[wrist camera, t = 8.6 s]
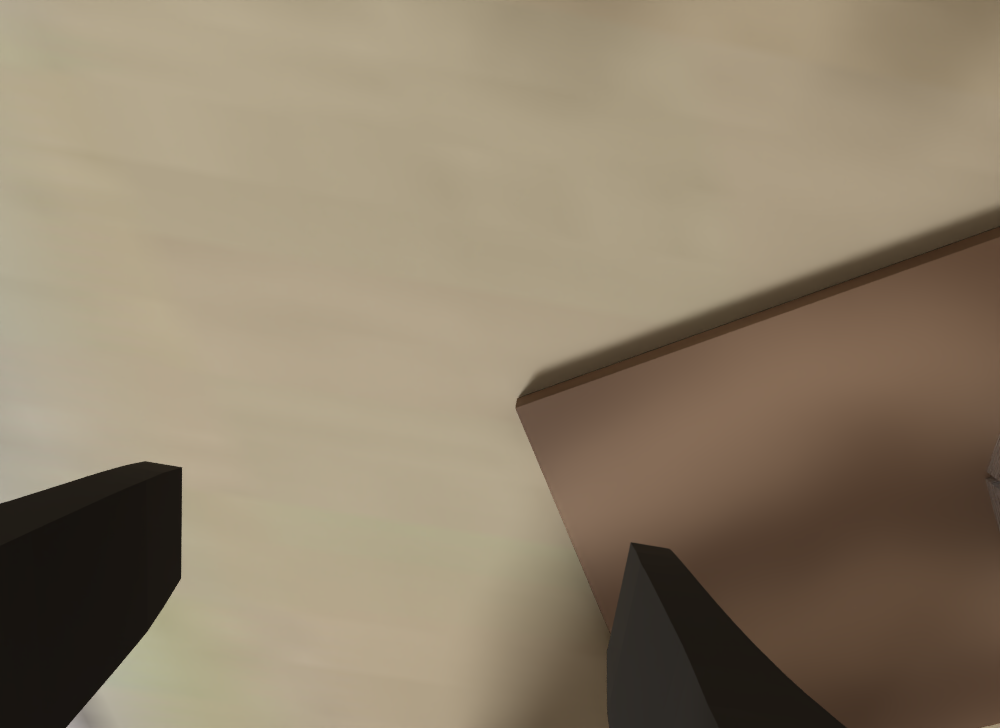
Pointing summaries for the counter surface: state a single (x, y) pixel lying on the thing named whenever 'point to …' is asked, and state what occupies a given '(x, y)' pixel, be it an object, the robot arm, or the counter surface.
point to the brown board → (814, 482)
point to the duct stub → (995, 481)
